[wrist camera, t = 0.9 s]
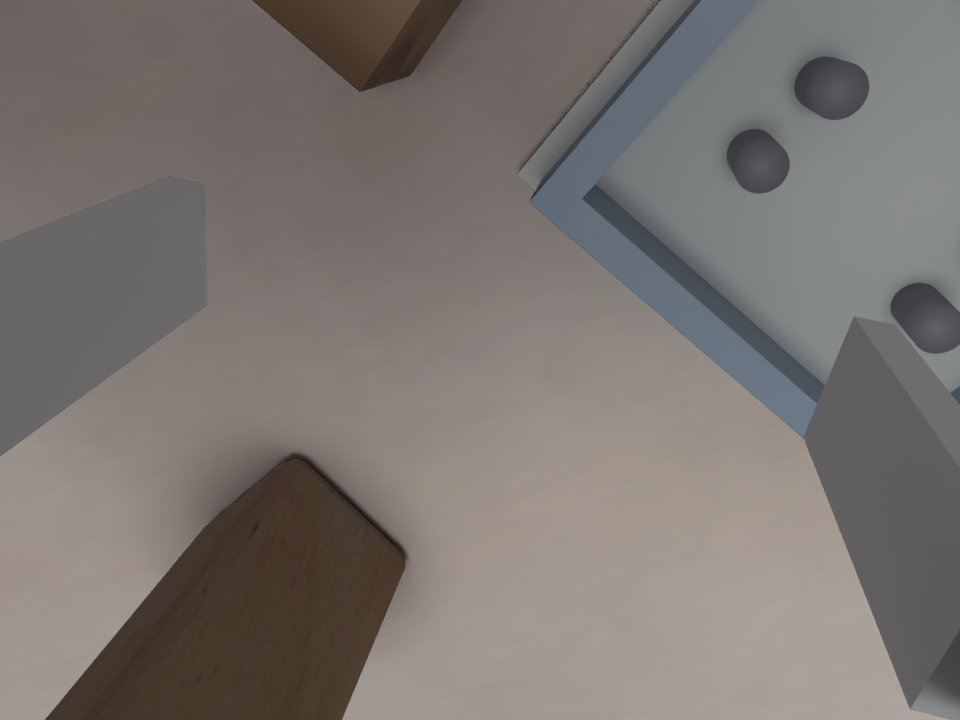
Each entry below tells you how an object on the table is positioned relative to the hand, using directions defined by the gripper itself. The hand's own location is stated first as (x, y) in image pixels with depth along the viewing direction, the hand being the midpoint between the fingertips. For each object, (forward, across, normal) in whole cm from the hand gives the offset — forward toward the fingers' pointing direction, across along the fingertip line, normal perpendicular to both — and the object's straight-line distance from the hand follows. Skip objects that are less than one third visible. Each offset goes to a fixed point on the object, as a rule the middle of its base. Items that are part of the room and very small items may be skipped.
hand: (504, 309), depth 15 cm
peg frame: (+21, +13, 0) cm, 24 cm away
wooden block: (+21, -11, -27) cm, 36 cm away
